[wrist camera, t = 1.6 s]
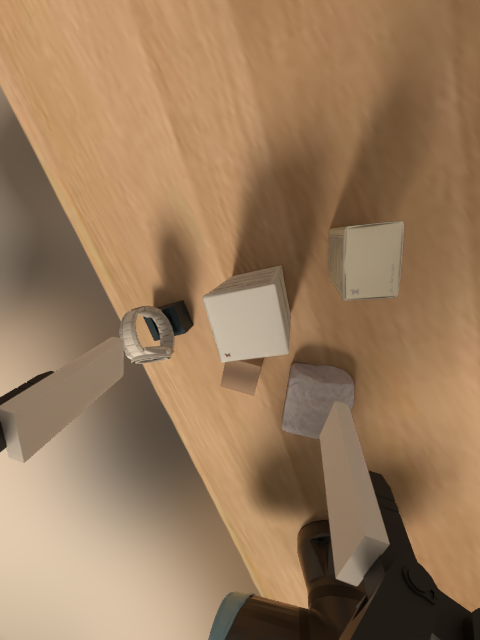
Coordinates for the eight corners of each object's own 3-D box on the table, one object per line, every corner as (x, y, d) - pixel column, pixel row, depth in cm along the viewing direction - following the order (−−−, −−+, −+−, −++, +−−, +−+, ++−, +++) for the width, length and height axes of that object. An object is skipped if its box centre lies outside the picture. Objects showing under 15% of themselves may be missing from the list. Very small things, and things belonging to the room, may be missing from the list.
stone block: (350, 361, 38) (285, 358, 38) (364, 380, 34) (291, 378, 34) (335, 420, 43) (277, 418, 43) (346, 444, 38) (281, 441, 38)
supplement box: (292, 314, 35) (290, 357, 24) (242, 322, 37) (218, 364, 26) (283, 263, 33) (276, 282, 22) (230, 274, 35) (199, 297, 24)
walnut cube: (258, 376, 40) (253, 396, 36) (228, 368, 41) (220, 386, 36) (265, 350, 38) (261, 366, 34) (234, 341, 39) (226, 357, 34)
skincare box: (363, 274, 32) (400, 300, 21) (326, 277, 33) (342, 303, 22) (365, 222, 30) (408, 219, 19) (326, 226, 31) (344, 226, 20)
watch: (168, 343, 42) (128, 381, 31) (148, 298, 39) (98, 323, 29) (198, 336, 40) (165, 373, 30) (179, 289, 38) (136, 311, 28)
